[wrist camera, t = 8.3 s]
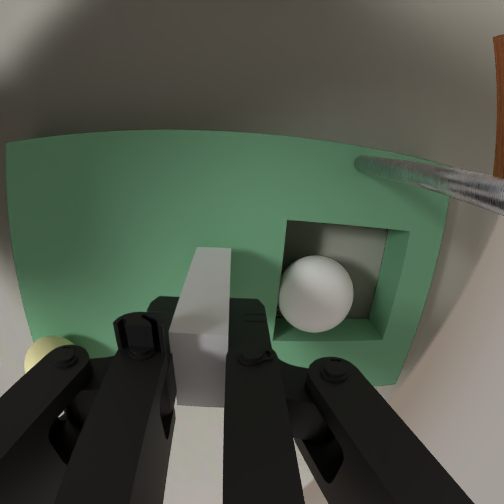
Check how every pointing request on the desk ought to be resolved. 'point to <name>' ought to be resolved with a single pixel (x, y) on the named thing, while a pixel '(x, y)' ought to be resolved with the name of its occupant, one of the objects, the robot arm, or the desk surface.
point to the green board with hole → (209, 232)
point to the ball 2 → (315, 293)
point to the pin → (448, 178)
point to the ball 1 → (43, 349)
